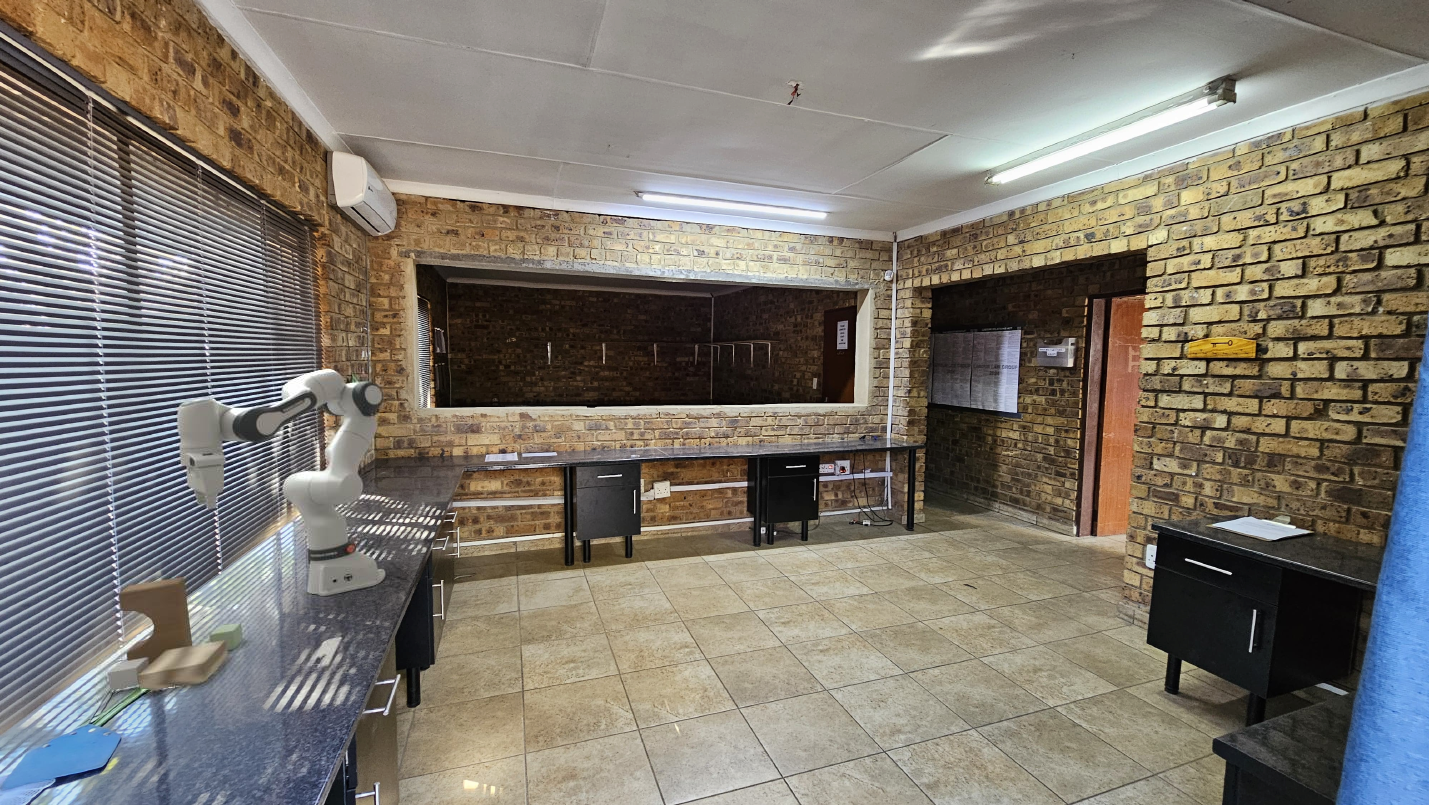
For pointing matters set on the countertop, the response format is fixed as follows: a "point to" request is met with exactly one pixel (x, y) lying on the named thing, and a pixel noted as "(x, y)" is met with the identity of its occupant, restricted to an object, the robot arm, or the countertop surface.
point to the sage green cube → (228, 635)
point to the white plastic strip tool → (328, 650)
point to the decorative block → (159, 616)
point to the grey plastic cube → (127, 673)
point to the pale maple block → (183, 666)
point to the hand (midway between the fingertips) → (206, 506)
